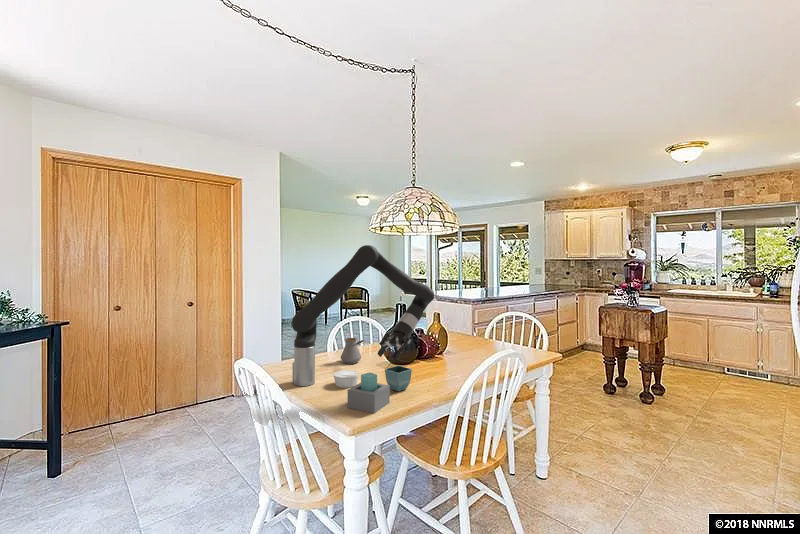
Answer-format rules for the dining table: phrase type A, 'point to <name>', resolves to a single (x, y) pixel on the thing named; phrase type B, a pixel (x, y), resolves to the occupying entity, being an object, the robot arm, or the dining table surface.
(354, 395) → the box
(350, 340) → the coffee pot
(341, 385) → the ramekin
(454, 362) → the dining table surface
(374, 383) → the teal post
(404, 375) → the flower pot
